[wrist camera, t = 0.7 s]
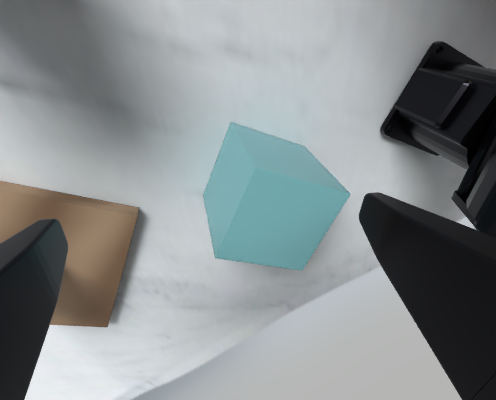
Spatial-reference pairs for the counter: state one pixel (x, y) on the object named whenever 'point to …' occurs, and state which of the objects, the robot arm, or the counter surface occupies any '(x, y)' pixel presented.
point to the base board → (76, 247)
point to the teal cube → (269, 200)
